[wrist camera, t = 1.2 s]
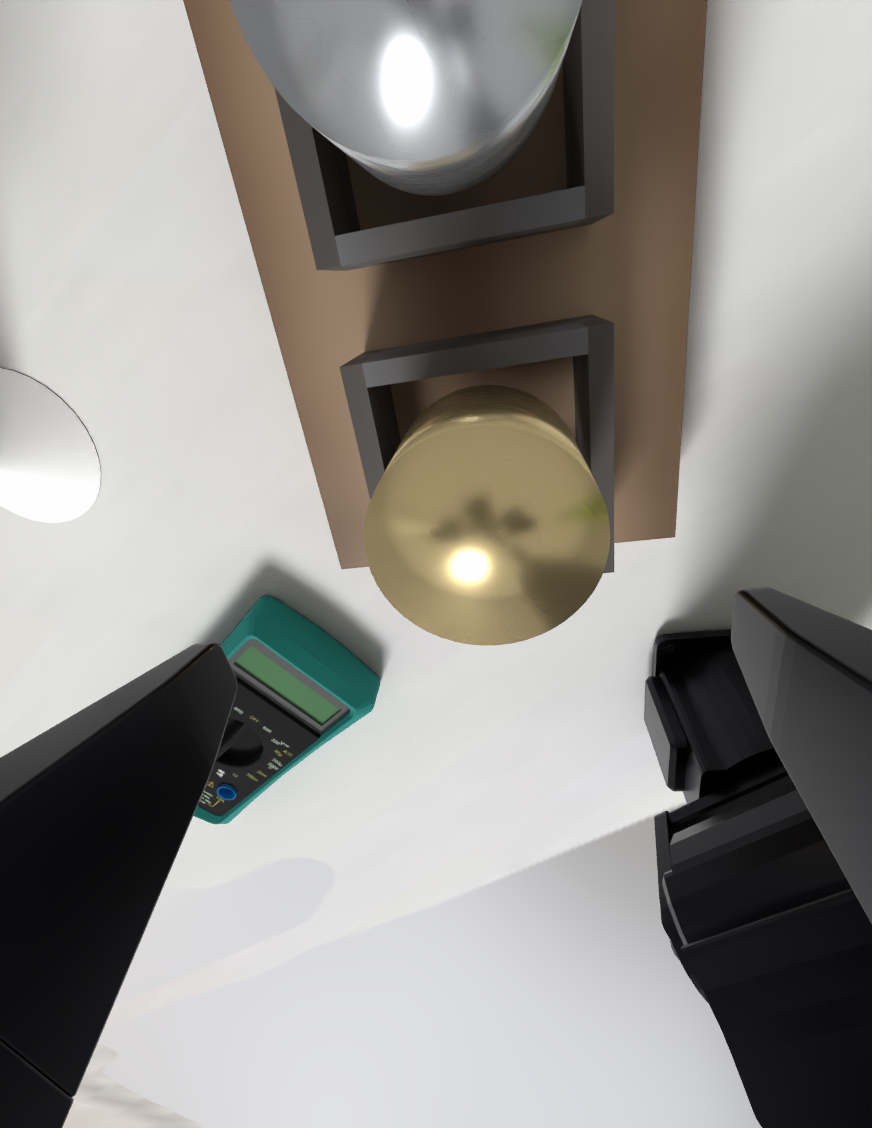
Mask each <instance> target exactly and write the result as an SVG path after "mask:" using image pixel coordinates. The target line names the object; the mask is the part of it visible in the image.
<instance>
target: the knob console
mask: <svg viewBox="0 0 872 1128" xmlns="http://www.w3.org/2000/svg"><path fill="white" fill-rule="evenodd" d="M183 1H184V5H185V8H186V12H187V15H188V19H189V22H190V26H191V30H192V33H193V37H194V40H195V44H196V48H197V51H198V55H199V58H200V62H201V66H202V69H203V73H204V76H205V80H206V84H207V87H208V91H209V94H210V98H211V102H212V105H213V109H214V112H215V116H216V120H217V123H218V127H219V130H220V134H221V138H222V141H223V145H224V148H225V152H226V155H227V159H228V163H229V166H230V170H231V173H232V177H233V181H234V184H235V188H236V191H237V195H238V199H239V202H240V206H241V209H242V213H243V217H244V220H245V224H246V227H247V231H248V235H249V238H250V242H251V245H252V249H253V253H254V256H255V260H256V263H257V267H258V271H259V274H260V278H261V281H262V285H263V289H264V292H265V296H266V299H267V303H268V306H269V310H270V314H271V317H272V321H273V324H274V328H275V332H276V335H277V339H278V342H279V346H280V350H281V353H282V357H283V360H284V364H285V368H286V371H287V375H288V378H289V382H290V386H291V389H292V393H293V396H294V400H295V404H296V407H297V411H298V414H299V418H300V422H301V425H302V429H303V432H304V436H305V439H306V443H307V447H308V450H309V454H310V457H311V461H312V465H313V468H314V472H315V475H316V479H317V483H318V486H319V490H320V493H321V497H322V501H323V504H324V508H325V511H326V515H327V519H328V522H329V526H330V529H331V533H332V537H333V540H334V544H335V547H336V551H337V555H338V558H339V562H340V565H341V569H348V568H359V567H369V564H368V561H367V556H366V551H365V544H364V528H365V519H366V514H367V510H368V506H369V503H370V500H371V498H372V496H373V493H374V491H375V489H376V487H377V485H378V483H379V482H380V480H381V478H382V476H383V474H384V472H385V471H386V469H387V467H388V465H389V463H390V461H391V460H392V458H393V456H394V454H395V452H396V450H397V449H398V447H399V445H400V443H401V441H402V439H403V438H404V436H405V434H406V432H407V431H408V429H409V428H410V426H411V424H412V423H413V422H414V421H415V419H416V418H417V417H418V416H419V415H420V414H421V413H422V412H423V411H424V410H425V409H426V408H427V407H428V406H430V405H431V404H432V403H434V402H435V401H437V400H438V399H440V398H442V397H444V396H446V395H447V394H449V393H452V392H455V391H457V390H460V389H463V388H468V387H472V386H480V385H500V386H506V387H511V388H515V389H518V390H521V391H524V392H527V393H529V394H531V395H533V396H535V397H537V398H539V399H540V400H542V401H543V402H544V403H546V404H547V405H549V406H550V407H551V408H552V409H553V410H554V411H555V412H556V413H557V414H558V415H559V416H560V417H561V418H562V420H563V421H564V422H565V423H566V425H567V427H568V428H569V430H570V432H571V433H572V435H573V437H574V439H575V441H576V443H577V445H578V447H579V449H580V451H581V454H582V456H583V458H584V460H585V462H586V464H587V466H588V468H589V470H590V472H591V474H592V476H593V478H594V480H595V482H596V484H597V486H598V488H599V490H600V492H601V495H602V497H603V500H604V502H605V505H606V509H607V513H608V517H609V523H610V548H609V554H608V558H607V563H606V566H605V569H604V571H603V573H609V572H614V543H619V542H629V541H639V540H650V539H660V538H671V537H675V530H676V513H677V497H678V480H679V463H680V446H681V430H682V413H683V396H684V380H685V363H686V346H687V329H688V313H689V296H690V279H691V263H692V246H693V229H694V212H695V196H696V179H697V162H698V145H699V129H700V112H701V95H702V79H703V62H704V45H705V28H706V12H707V0H583V1H582V4H581V7H580V10H579V13H578V16H577V19H576V22H575V25H574V28H573V31H572V35H571V38H570V41H569V44H568V47H567V50H566V53H565V56H564V59H563V62H562V65H561V68H560V71H559V74H558V77H557V80H556V83H555V86H554V90H553V93H552V95H551V98H550V100H549V102H548V105H547V107H546V109H545V112H544V114H543V116H542V118H541V119H540V121H539V123H538V125H537V126H536V128H535V130H534V132H533V133H532V135H531V136H530V137H529V139H528V140H527V142H526V143H525V144H524V146H523V147H522V148H521V150H520V151H519V152H518V153H517V154H516V155H515V156H514V157H513V158H512V159H511V161H510V162H509V163H507V164H506V165H505V166H504V167H503V168H502V169H500V170H499V171H498V172H497V173H496V174H494V175H493V176H491V177H489V178H488V179H486V180H485V181H483V182H482V183H480V184H477V185H475V186H473V187H471V188H469V189H466V190H463V191H459V192H456V193H452V194H445V195H437V196H436V195H419V194H414V193H409V192H405V191H402V190H400V189H397V188H394V187H392V186H390V185H388V184H386V183H384V182H382V181H381V180H379V179H377V178H376V177H375V176H373V175H372V174H371V173H369V172H368V171H367V170H365V169H364V168H363V167H362V166H360V165H359V164H358V163H357V162H355V161H354V160H353V159H352V158H350V157H349V156H348V155H347V154H346V153H344V152H343V151H342V150H341V149H339V148H338V147H337V146H336V145H334V144H333V143H332V142H331V141H330V140H328V139H327V138H326V137H325V136H323V135H322V134H321V133H320V132H318V131H317V130H316V129H315V128H314V127H312V126H311V125H310V124H309V123H307V122H306V121H305V120H304V119H303V118H302V117H301V116H300V115H299V114H298V113H297V112H296V111H295V110H294V109H293V108H292V107H291V106H290V105H289V104H288V103H287V102H286V101H285V99H284V98H283V97H282V96H281V94H280V93H279V92H278V91H277V90H276V88H275V87H274V86H273V85H272V83H271V82H270V80H269V79H268V77H267V76H266V74H265V73H264V71H263V70H262V68H261V67H260V65H259V63H258V62H257V60H256V59H255V57H254V55H253V53H252V51H251V49H250V47H249V45H248V43H247V41H246V39H245V37H244V36H243V34H242V32H241V29H240V27H239V24H238V22H237V19H236V17H235V14H234V12H233V9H232V7H231V4H230V2H229V0H183Z"/></svg>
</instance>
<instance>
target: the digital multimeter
mask: <svg viewBox="0 0 872 1128" xmlns="http://www.w3.org/2000/svg"><path fill="white" fill-rule="evenodd" d="M221 647H222V649H223V650H224V653H225V655H226V657H227V659H228V661H229V663H230V666H231V668H232V670H233V672H234V674H235V676H236V680H237V692H236V696H235V699H234V702H233V705H232V709H231V712H230V715H229V718H228V722H227V725H226V728H225V731H224V734H223V738H222V741H221V744H220V747H219V751H218V754H217V757H216V760H215V763H214V766H213V769H212V772H211V774H210V777H209V779H208V782H207V784H206V787H205V789H204V791H203V794H202V796H201V798H200V801H199V803H198V806H197V808H196V810H195V813H194V815H193V816H195V817H197V818H200V819H202V820H205V821H207V822H210V823H212V824H226V823H229V822H230V821H231V820H232V819H233V818H234V817H236V816H237V815H238V814H239V813H240V812H241V811H242V810H243V809H244V808H245V807H246V806H248V805H249V804H250V803H251V802H252V801H253V800H254V799H255V798H257V797H258V796H259V795H260V794H261V793H262V792H264V791H265V790H266V789H267V788H268V787H269V786H271V785H272V784H273V783H274V782H275V781H276V780H278V779H279V778H280V777H281V776H282V775H283V774H285V773H286V772H287V771H289V770H290V769H291V768H293V767H294V766H295V765H297V764H298V763H299V762H300V761H302V760H303V759H304V758H306V757H307V756H308V755H310V754H311V753H312V752H314V751H315V750H316V749H318V748H319V747H320V746H322V745H323V744H324V743H326V742H327V741H329V740H330V739H332V738H333V737H335V736H336V735H337V734H339V733H340V732H342V731H343V730H345V729H346V728H348V727H349V726H350V725H352V724H353V723H355V722H356V721H358V720H359V719H361V718H362V717H363V716H365V715H366V714H368V713H369V712H371V711H372V709H373V707H374V704H375V700H376V697H377V693H378V690H379V686H380V679H379V678H378V677H377V676H376V675H375V674H374V673H373V672H372V671H371V670H370V669H369V668H367V667H366V666H365V665H364V664H363V663H362V662H361V661H360V660H359V659H358V658H356V657H355V656H354V655H353V654H352V653H351V652H349V651H348V650H347V649H346V648H345V647H344V646H342V645H341V644H340V643H339V642H338V641H336V640H335V639H334V638H332V637H331V636H330V635H328V634H327V633H326V632H324V631H323V630H322V629H321V628H319V627H318V626H316V625H315V624H313V623H312V622H310V621H309V620H307V619H306V618H304V617H303V616H301V615H300V614H298V613H297V612H295V611H294V610H292V609H291V608H289V607H287V606H286V605H284V604H283V603H281V602H280V601H278V600H276V599H275V598H273V597H271V596H263V597H261V598H260V599H259V600H258V601H257V602H256V603H255V605H254V606H253V607H252V608H251V610H250V611H249V612H248V613H247V614H246V616H245V617H244V618H243V619H242V620H241V622H240V623H239V624H238V625H237V626H236V628H235V629H234V630H233V631H232V632H231V634H230V635H229V636H228V637H227V638H226V640H225V641H224V642H223V643H222V644H221Z"/></svg>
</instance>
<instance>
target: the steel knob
mask: <svg viewBox="0 0 872 1128" xmlns="http://www.w3.org/2000/svg"><path fill="white" fill-rule="evenodd" d="M582 1H583V0H229V2H230V4H231V7H232V9H233V12H234V14H235V17H236V19H237V22H238V24H239V27H240V29H241V32H242V34H243V36H244V37H245V39H246V41H247V43H248V45H249V47H250V49H251V51H252V53H253V55H254V57H255V59H256V60H257V62H258V63H259V65H260V67H261V68H262V70H263V71H264V73H265V74H266V76H267V77H268V79H269V80H270V82H271V83H272V85H273V86H274V87H275V88H276V90H277V91H278V92H279V93H280V94H281V96H282V97H283V98H284V99H285V101H286V102H287V103H288V104H289V105H290V106H291V107H292V108H293V109H294V110H295V111H296V112H297V113H298V114H299V115H300V116H301V117H302V118H303V119H304V120H305V121H306V122H307V123H309V124H310V125H311V126H312V127H314V128H315V129H316V130H317V131H318V132H320V133H321V134H322V135H323V136H325V137H326V138H327V139H328V140H330V141H331V142H332V143H333V144H334V145H336V146H337V147H338V148H339V149H341V150H342V151H343V152H344V153H346V154H347V155H348V156H349V157H350V158H352V159H353V160H354V161H355V162H357V163H358V164H359V165H360V166H362V167H363V168H364V169H365V170H367V171H368V172H369V173H371V174H372V175H373V176H375V177H376V178H377V179H379V180H381V181H382V182H384V183H386V184H388V185H390V186H392V187H394V188H397V189H400V190H402V191H405V192H409V193H414V194H419V195H436V196H437V195H445V194H452V193H456V192H459V191H463V190H466V189H469V188H471V187H473V186H475V185H477V184H480V183H482V182H483V181H485V180H486V179H488V178H489V177H491V176H493V175H494V174H496V173H497V172H498V171H499V170H500V169H502V168H503V167H504V166H505V165H506V164H507V163H509V162H510V161H511V159H512V158H513V157H514V156H515V155H516V154H517V153H518V152H519V151H520V150H521V148H522V147H523V146H524V144H525V143H526V142H527V140H528V139H529V137H530V136H531V135H532V133H533V132H534V130H535V128H536V126H537V125H538V123H539V121H540V119H541V118H542V116H543V114H544V112H545V109H546V107H547V105H548V102H549V100H550V98H551V95H552V93H553V90H554V86H555V83H556V80H557V77H558V74H559V71H560V68H561V65H562V62H563V59H564V56H565V53H566V50H567V47H568V44H569V41H570V38H571V35H572V31H573V28H574V25H575V22H576V19H577V16H578V13H579V10H580V7H581V4H582Z"/></svg>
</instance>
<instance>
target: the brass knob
mask: <svg viewBox="0 0 872 1128" xmlns="http://www.w3.org/2000/svg"><path fill="white" fill-rule="evenodd" d="M364 544H365V551H366V556H367V561H368V564H369V567H370V570H371V573H372V575H373V577H374V579H375V581H376V583H377V585H378V587H379V588H380V590H381V591H382V593H383V594H384V596H385V597H386V598H387V600H388V601H389V602H390V603H391V604H392V605H393V607H394V608H395V609H397V610H398V611H399V612H400V613H401V614H402V615H403V616H404V617H406V618H407V619H408V620H410V621H411V622H412V623H414V624H415V625H417V626H419V627H420V628H422V629H424V630H426V631H427V632H430V633H432V634H434V635H437V636H439V637H442V638H445V639H448V640H451V641H455V642H460V643H465V644H473V645H502V644H510V643H515V642H519V641H523V640H527V639H530V638H533V637H536V636H538V635H541V634H543V633H545V632H547V631H549V630H551V629H553V628H555V627H556V626H558V625H559V624H561V623H562V622H564V621H565V620H567V619H568V618H569V617H570V616H572V615H573V614H574V613H575V612H576V611H577V610H578V609H579V608H580V607H581V606H582V605H583V604H584V603H585V602H586V601H587V599H588V598H589V597H590V595H591V594H592V592H593V591H594V590H595V588H596V586H597V584H598V582H599V580H600V579H601V577H602V574H603V571H604V569H605V566H606V563H607V558H608V554H609V548H610V523H609V517H608V513H607V509H606V505H605V502H604V500H603V497H602V495H601V492H600V490H599V488H598V486H597V484H596V482H595V480H594V478H593V476H592V474H591V472H590V470H589V468H588V466H587V464H586V462H585V460H584V458H583V456H582V454H581V451H580V449H579V447H578V445H577V443H576V441H575V439H574V437H573V435H572V433H571V432H570V430H569V428H568V427H567V425H566V423H565V422H564V421H563V420H562V418H561V417H560V416H559V415H558V414H557V413H556V412H555V411H554V410H553V409H552V408H551V407H550V406H549V405H547V404H546V403H544V402H543V401H542V400H540V399H539V398H537V397H535V396H533V395H531V394H529V393H527V392H524V391H521V390H518V389H515V388H511V387H506V386H500V385H480V386H472V387H468V388H463V389H460V390H457V391H455V392H452V393H449V394H447V395H446V396H444V397H442V398H440V399H438V400H437V401H435V402H434V403H432V404H431V405H430V406H428V407H427V408H426V409H425V410H424V411H423V412H422V413H421V414H420V415H419V416H418V417H417V418H416V419H415V421H414V422H413V423H412V424H411V426H410V428H409V429H408V431H407V432H406V434H405V436H404V438H403V439H402V441H401V443H400V445H399V447H398V449H397V450H396V452H395V454H394V456H393V458H392V460H391V461H390V463H389V465H388V467H387V469H386V471H385V472H384V474H383V476H382V478H381V480H380V482H379V483H378V485H377V487H376V489H375V491H374V493H373V496H372V498H371V500H370V503H369V506H368V510H367V514H366V519H365V528H364Z"/></svg>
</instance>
